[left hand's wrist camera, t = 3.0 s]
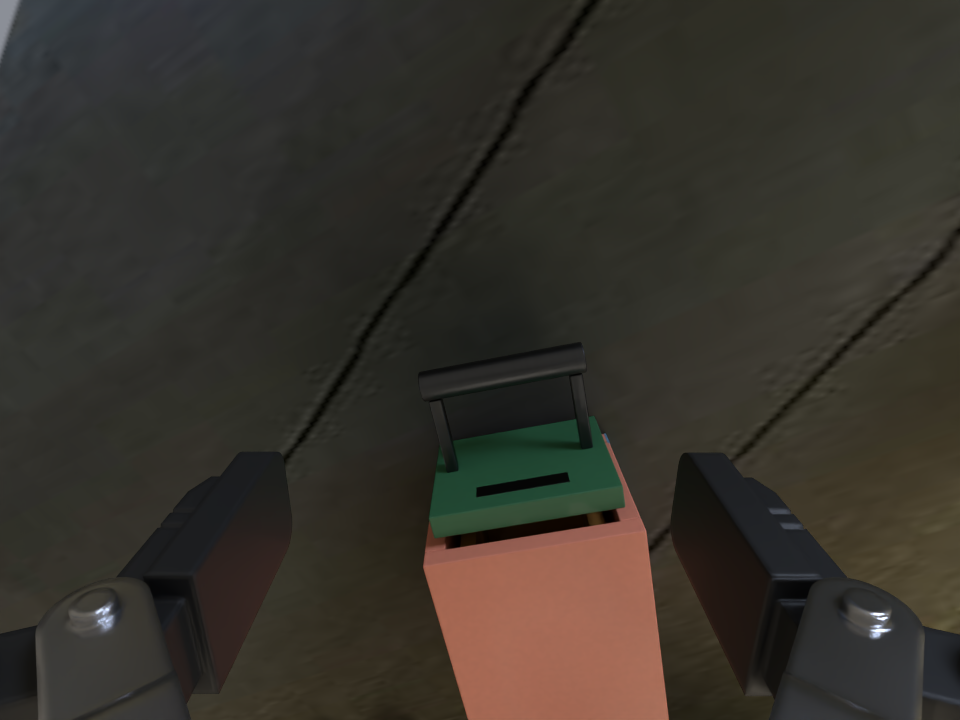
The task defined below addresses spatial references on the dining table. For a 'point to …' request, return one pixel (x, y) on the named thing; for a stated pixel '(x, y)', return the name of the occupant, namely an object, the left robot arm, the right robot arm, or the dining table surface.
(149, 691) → the left robot arm
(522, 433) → the drawer
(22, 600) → the dining table surface
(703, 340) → the dining table surface
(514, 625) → the cabinet
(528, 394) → the dining table surface
